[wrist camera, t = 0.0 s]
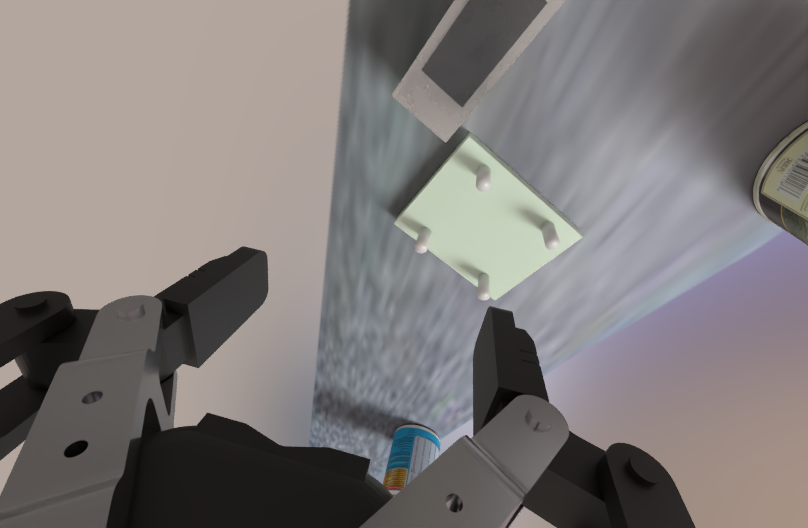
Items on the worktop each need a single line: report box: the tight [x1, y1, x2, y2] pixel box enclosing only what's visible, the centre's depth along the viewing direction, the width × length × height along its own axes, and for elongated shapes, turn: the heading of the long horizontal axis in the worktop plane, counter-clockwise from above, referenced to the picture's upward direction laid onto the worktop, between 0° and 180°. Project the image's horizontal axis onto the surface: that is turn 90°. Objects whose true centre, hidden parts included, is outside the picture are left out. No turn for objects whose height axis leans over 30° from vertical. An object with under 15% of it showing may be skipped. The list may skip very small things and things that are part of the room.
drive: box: [392, 0, 566, 143], centre depth 23 cm, size 12×5×6 cm, turn 143°
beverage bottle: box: [383, 425, 440, 496], centre depth 51 cm, size 8×8×20 cm
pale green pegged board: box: [394, 133, 583, 300], centre depth 32 cm, size 14×11×4 cm
